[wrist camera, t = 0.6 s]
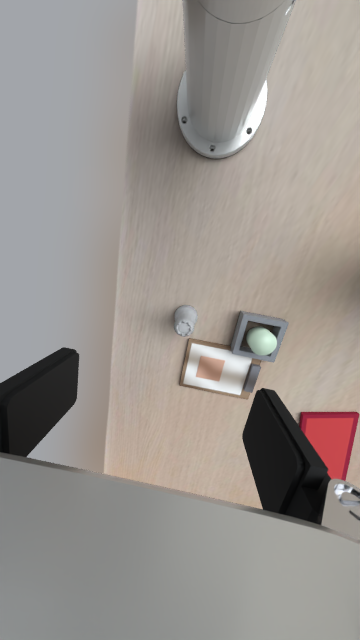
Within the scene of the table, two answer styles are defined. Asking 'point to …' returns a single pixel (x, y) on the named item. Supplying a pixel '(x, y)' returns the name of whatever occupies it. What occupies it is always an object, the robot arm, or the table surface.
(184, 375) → the clipboard
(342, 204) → the table surface
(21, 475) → the robot arm
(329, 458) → the red board with handle
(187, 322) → the rook chess piece
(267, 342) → the button
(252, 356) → the button housing
